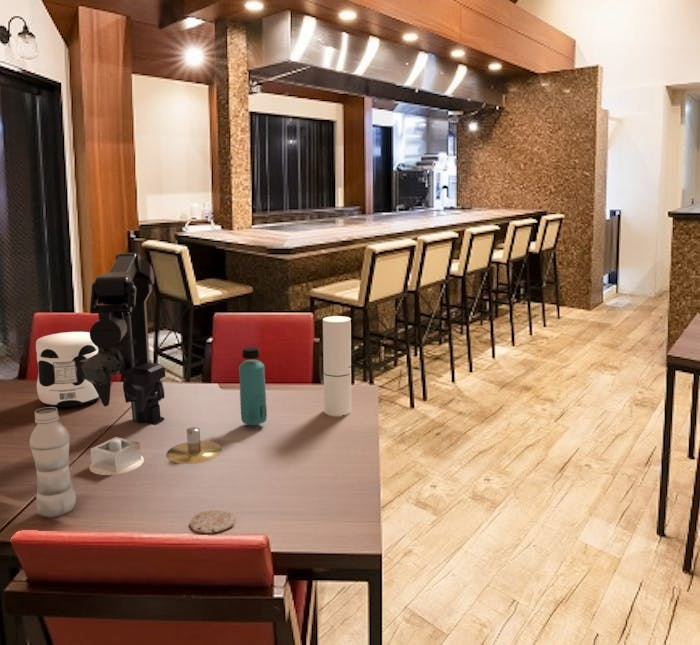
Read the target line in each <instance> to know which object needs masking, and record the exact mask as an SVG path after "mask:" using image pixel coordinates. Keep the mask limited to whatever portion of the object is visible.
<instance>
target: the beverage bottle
mask: <svg viewBox="0 0 700 645" xmlns="http://www.w3.org/2000/svg"><path fill="white" fill-rule="evenodd" d="M260 356H261V355H260V349H259V348H258V347H256V346H248V347H244V348H243V349H242V358H243V359H244V361H242V362H241V364H239V366H238V372H239V377H238V378H239V397H240V398H239V400H240V401H239V402H240V404H239V405H240V408H239V410H240V418H241V422H242V423H243V424H244V425H249V426H250V425H252V426H253V425H256V426H257V425H261V424H264V423H265V422H266V421H267V418H268V410H267V394H266V391H267V390H266V386H267V385H266V384H267V383H266V377H265V375H266V374H265V364H264V363H263V362H262V361H260V360H258V358H260ZM245 359H246V360H245Z"/></svg>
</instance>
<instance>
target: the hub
mask: <svg viewBox="0 0 700 645" xmlns="http://www.w3.org/2000/svg"><path fill="white" fill-rule="evenodd" d="M200 431H201V430H200V428H199V427H196V426H193V427H189V428H187V429H186V442H182V443H179V444H176V445H174V446H173V447H171V448H170V449H168V451H166V458H167V459H168V460H169V461H172V462H173V463H178V464H187V465H188V464H189V465H190V464H199V463H204V462H207V461H210V460H212V459H215V458H217V457H218V456H219V455H221V453H222V451H223V448H222V446H221V445H220V444H218V443H217V442H214V441H210V440H209V441H208V440H201V432H200Z"/></svg>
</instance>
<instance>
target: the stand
mask: <svg viewBox="0 0 700 645" xmlns="http://www.w3.org/2000/svg"><path fill="white" fill-rule="evenodd" d="M112 439H113V438H112ZM109 440H110V439H109ZM109 449H110V451H111V452H116V451H119V450H121V449H122V448H121V440H120V439H113V440H110V441H109ZM144 461H145V460H144V457H143V455H141V460H140V461H138V462H136V463H134V464H132V465H131V466H129V467H127V468H125V469H123V470H121V471H119V472H117V473H114V472H111V471H107V470H103V469H100V468H96V467H92V462H91V463H90V464H89V466H88V467H89V468H88V469H89V471H90V472H92V473H93V474H96V475H102V476H113V475H121V474H125V473H129V472H131V471H134V470H136V469H138V468H139V467H140V466H142V465H143V463H144Z"/></svg>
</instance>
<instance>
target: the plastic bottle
mask: <svg viewBox="0 0 700 645" xmlns="http://www.w3.org/2000/svg"><path fill="white" fill-rule="evenodd" d="M59 420H60V416H59V410H58V408H57V407H55V406H48V407H45V406H44V407H41V408H37V409H36V410H34V422H35V423H36V424H37V425H36V426H35V427H34V429H33V430H32V432H31V435H30V438H29V446H30V450H31V453H32V456H33V460H34V465H35V470H36V488H37V489H36V496H35V498H36V499H35V504H36V508H37V511H38V512H39V513H40V514H41V515H42V516H43V517H45V518H57V517H61V516H64V515H65V514H68V513H69V512H71V511H72V510H73V509H74V507H75V506H76V502H77V500H76V499H77V495H76V491H75V488H74V486H73V481H72V476H71V471H70V464H69V463H70V455H69V454H70V441H71V440H70V434H69V433H70V432H69V431H68V429H67V428H66V427H65V426H64V425H63V424H62V423H61V422H60V421H59Z"/></svg>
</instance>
